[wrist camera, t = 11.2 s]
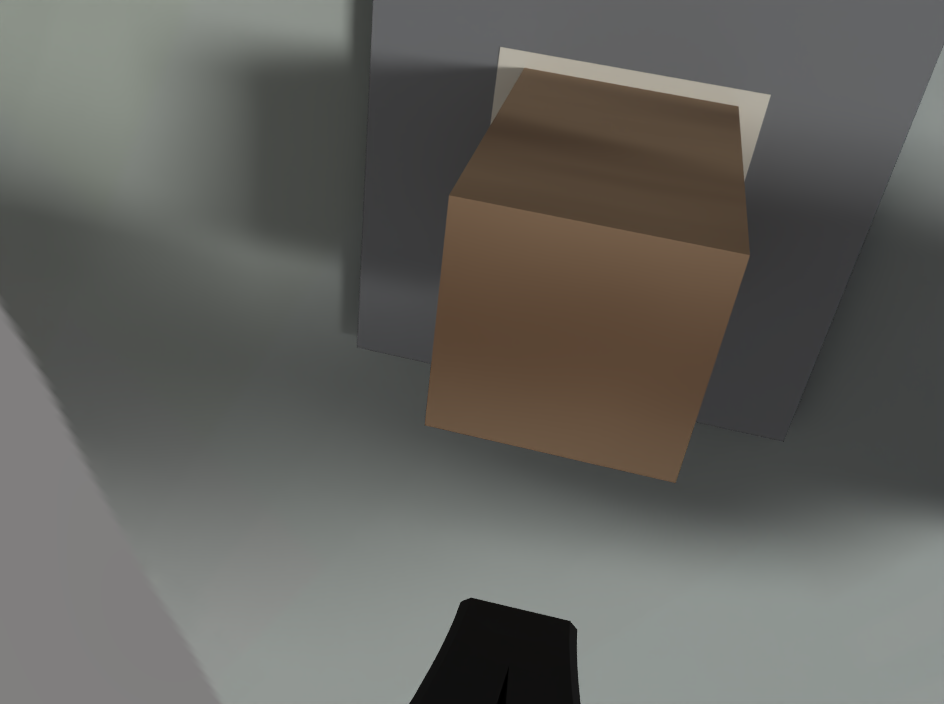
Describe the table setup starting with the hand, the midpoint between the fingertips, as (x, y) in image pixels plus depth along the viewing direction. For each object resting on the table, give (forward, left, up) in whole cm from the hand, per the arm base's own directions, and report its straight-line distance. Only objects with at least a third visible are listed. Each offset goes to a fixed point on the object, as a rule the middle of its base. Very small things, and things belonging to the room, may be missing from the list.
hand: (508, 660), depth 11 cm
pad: (0, -2, -10) cm, 11 cm away
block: (0, -2, -10) cm, 10 cm away
